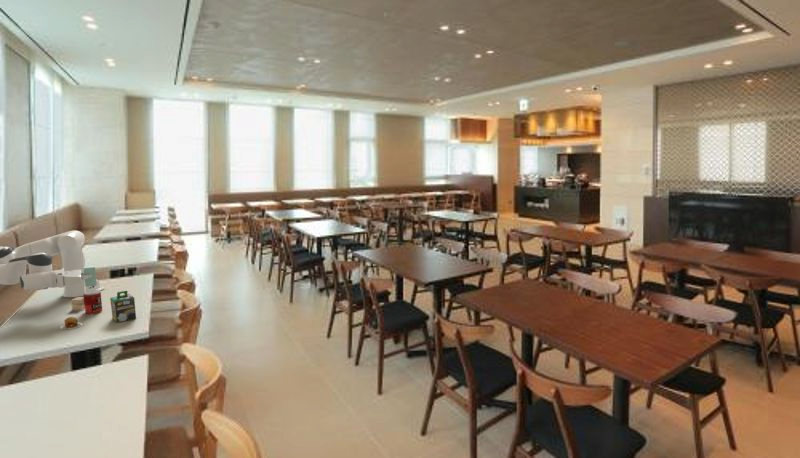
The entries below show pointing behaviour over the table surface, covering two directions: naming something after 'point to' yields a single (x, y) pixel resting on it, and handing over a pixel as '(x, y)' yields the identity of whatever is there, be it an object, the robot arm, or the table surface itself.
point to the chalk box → (123, 307)
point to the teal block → (92, 280)
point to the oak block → (78, 303)
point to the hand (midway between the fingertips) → (92, 274)
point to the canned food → (92, 301)
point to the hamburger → (71, 323)
